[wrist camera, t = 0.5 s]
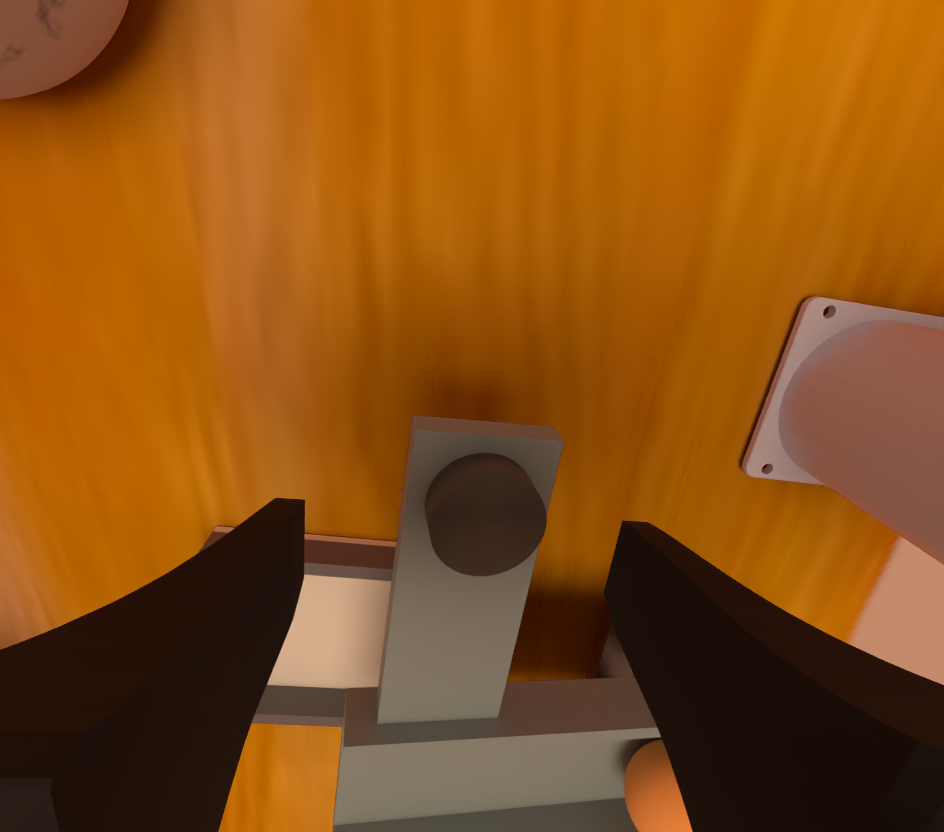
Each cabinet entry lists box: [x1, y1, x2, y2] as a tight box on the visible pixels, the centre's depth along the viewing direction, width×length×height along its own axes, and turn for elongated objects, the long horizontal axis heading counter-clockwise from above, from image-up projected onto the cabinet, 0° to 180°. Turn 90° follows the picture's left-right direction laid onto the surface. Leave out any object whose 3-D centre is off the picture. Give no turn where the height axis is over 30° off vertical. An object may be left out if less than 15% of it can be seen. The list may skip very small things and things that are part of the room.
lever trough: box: [333, 415, 662, 832], centre depth 18 cm, size 18×17×4 cm
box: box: [199, 526, 396, 727], centre depth 23 cm, size 13×9×4 cm
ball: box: [624, 740, 692, 832], centre depth 19 cm, size 4×4×4 cm
